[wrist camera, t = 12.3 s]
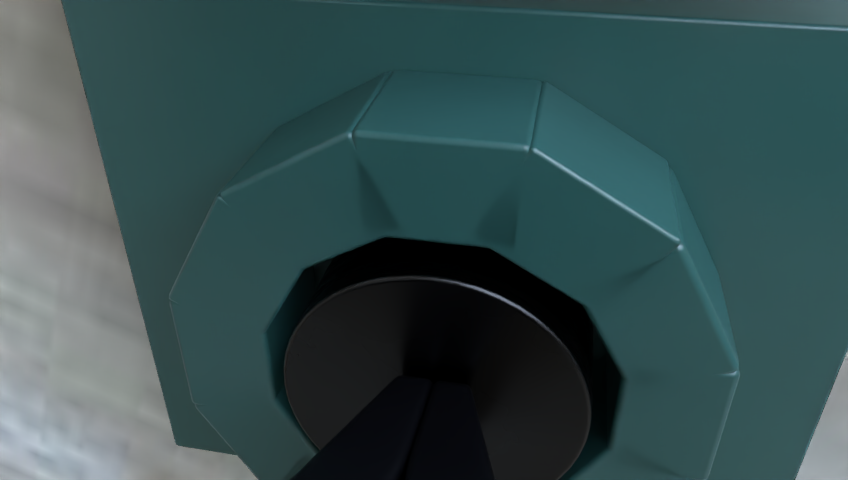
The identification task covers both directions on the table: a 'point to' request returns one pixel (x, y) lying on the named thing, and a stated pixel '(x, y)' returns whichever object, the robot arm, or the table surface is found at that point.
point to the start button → (448, 348)
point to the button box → (492, 198)
